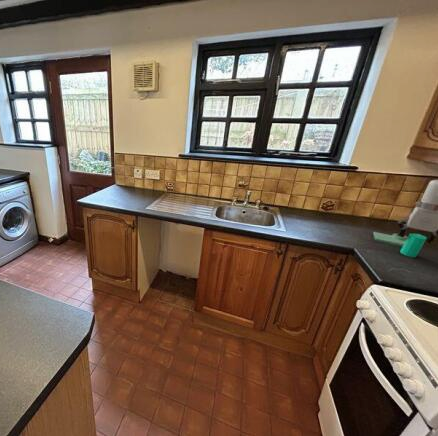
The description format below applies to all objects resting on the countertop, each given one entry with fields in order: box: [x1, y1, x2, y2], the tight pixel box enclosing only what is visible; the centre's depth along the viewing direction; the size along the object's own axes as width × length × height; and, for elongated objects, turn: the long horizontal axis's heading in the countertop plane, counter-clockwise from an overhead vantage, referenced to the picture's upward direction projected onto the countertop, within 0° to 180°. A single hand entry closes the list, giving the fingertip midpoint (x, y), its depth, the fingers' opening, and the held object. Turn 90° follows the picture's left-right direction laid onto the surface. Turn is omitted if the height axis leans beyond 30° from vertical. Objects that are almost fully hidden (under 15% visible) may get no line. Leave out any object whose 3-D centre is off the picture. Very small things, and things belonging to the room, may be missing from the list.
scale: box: [372, 231, 408, 248], centre depth 138 cm, size 14×12×3 cm
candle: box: [399, 232, 428, 258], centre depth 121 cm, size 6×6×12 cm
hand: (414, 239), depth 121 cm, fingers open, 9 cm apart
